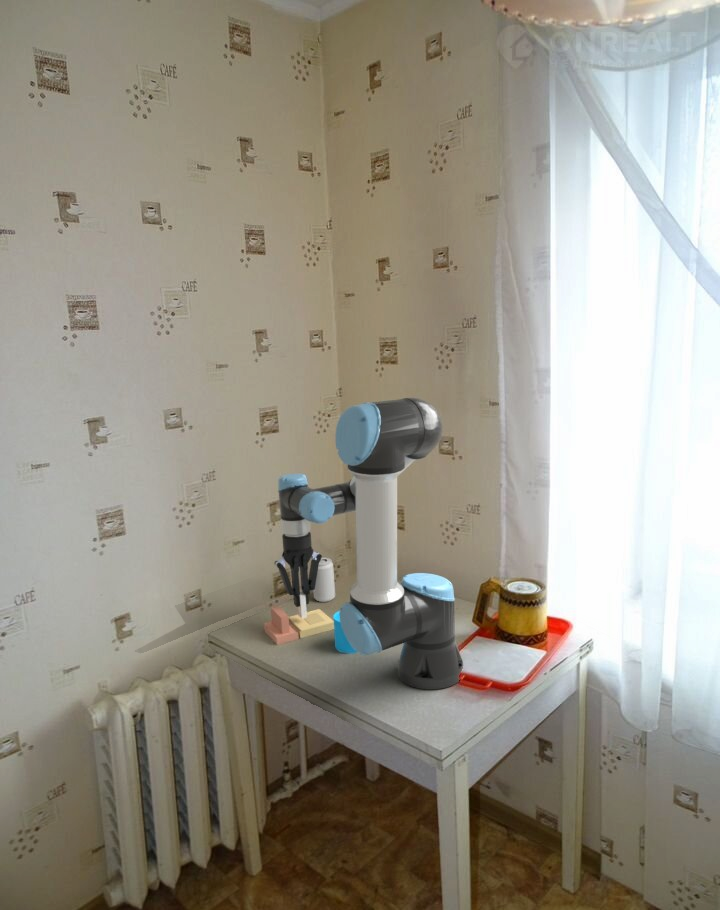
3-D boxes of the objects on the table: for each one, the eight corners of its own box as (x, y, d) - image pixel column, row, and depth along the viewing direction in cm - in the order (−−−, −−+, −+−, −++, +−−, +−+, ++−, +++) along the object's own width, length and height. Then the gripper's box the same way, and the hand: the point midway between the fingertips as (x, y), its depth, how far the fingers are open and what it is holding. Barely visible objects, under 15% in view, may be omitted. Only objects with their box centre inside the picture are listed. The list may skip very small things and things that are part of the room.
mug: (370, 650, 168) (368, 620, 166) (338, 655, 166) (336, 624, 165) (360, 630, 180) (359, 601, 178) (330, 634, 178) (328, 605, 176)
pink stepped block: (298, 638, 176) (296, 615, 175) (277, 644, 174) (275, 621, 172) (284, 624, 185) (283, 602, 184) (264, 630, 182) (262, 607, 181)
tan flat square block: (334, 628, 181) (334, 621, 180) (300, 638, 176) (299, 630, 176) (319, 615, 190) (319, 608, 189) (286, 624, 185) (286, 617, 185)
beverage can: (339, 596, 202) (337, 558, 200) (327, 604, 197) (324, 565, 194) (322, 593, 205) (319, 555, 203) (309, 600, 200) (306, 562, 198)
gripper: (313, 524, 183) (319, 605, 188) (268, 533, 177) (275, 617, 182) (324, 531, 176) (330, 615, 181) (277, 541, 171) (284, 627, 175)
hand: (302, 616), depth 182 cm, fingers closed
